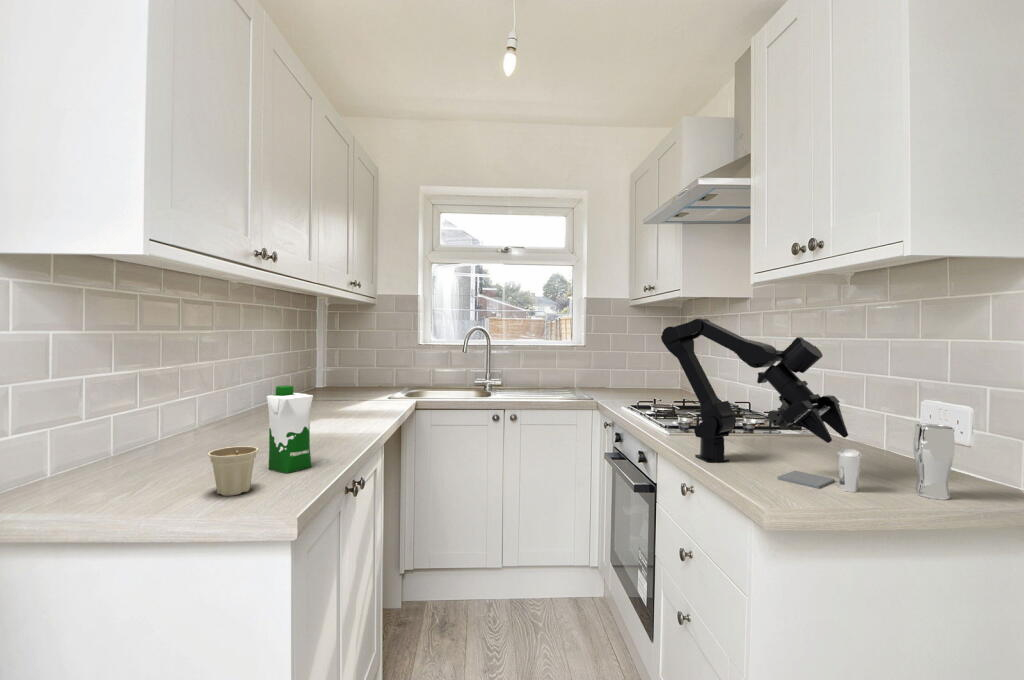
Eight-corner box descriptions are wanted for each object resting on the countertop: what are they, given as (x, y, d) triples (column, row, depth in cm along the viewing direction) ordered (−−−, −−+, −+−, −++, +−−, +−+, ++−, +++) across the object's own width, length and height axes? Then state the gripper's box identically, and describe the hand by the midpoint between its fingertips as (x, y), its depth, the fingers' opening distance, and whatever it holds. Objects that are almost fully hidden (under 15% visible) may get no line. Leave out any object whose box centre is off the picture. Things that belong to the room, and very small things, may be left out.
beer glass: (950, 494, 116) (953, 425, 116) (954, 502, 110) (957, 430, 110) (911, 488, 120) (913, 422, 120) (912, 496, 114) (915, 426, 114)
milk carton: (294, 461, 137) (294, 384, 136) (317, 467, 132) (317, 386, 132) (262, 469, 130) (262, 387, 129) (286, 475, 125) (286, 390, 124)
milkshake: (852, 494, 115) (853, 448, 115) (831, 487, 120) (832, 443, 120) (869, 493, 116) (870, 447, 116) (847, 486, 121) (848, 442, 121)
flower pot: (203, 490, 113) (203, 449, 113) (251, 482, 119) (251, 443, 119) (213, 501, 106) (213, 458, 106) (263, 492, 112) (263, 451, 112)
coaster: (777, 479, 126) (777, 476, 126) (794, 472, 132) (794, 470, 132) (818, 488, 119) (818, 485, 119) (834, 481, 125) (834, 478, 125)
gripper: (782, 403, 139) (827, 453, 130) (745, 410, 127) (793, 465, 118) (815, 375, 132) (865, 426, 124) (780, 379, 121) (832, 436, 112)
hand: (838, 439), depth 120 cm, fingers open, 9 cm apart
